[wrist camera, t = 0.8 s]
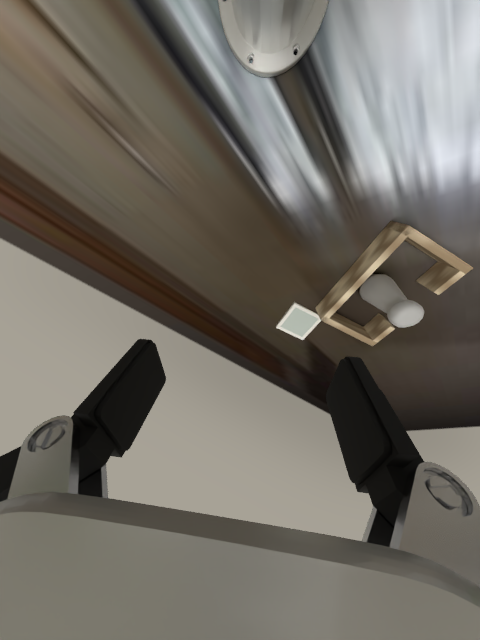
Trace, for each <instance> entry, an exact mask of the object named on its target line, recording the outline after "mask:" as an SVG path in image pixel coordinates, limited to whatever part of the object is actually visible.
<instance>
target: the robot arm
mask: <svg viewBox="0 0 480 640" xmlns="http://www.w3.org/2000/svg"><path fill="white" fill-rule="evenodd" d="M328 2H329V0H227V1H226V2H224V0H218V4H219V10H220V16H221V21H222V25H223V29H224V33H225V35H226V38H227V41H228V44H229V46H230V48H231V50H232V52H233V54H234V56H235V57H236V59H237V60H238V61H239V62H240V64H241V65H242V66H243V67H244V68H246V69H247V70H248V71H249V72H251V73H253V74H255V75H257V76H261V77H273V76H278V75H280V74H282V73H284V72H286V71H288V70H289V69H290V68H292V67H293V66H294V65H295V64H296V63H297V62H298V61H299V60H300V59H301V58H302V57H303V56H304V55H305V53H306V52H307V50H308V49H309V47H310V46H311V44H312V43H313V41H314V39H315V37H316V34H317V32H318V30H319V28H320V26H321V23H322V20H323V18H324V15H325V12H326V9H327V6H328ZM294 51H297V55H294V54H293V52H294ZM251 59H252V60H253V63H251V64H250V63H249V61H250V60H251ZM165 381H166V376H165V373H164V370H163V367H162V363H161V360H160V357H159V354H158V351H157V347H156V345H155V343H153V342H152V340H146V339H139V340H137V341H136V343H135V344H134V345H133V346H132V347H131V348H130V349H129V350H128V352H127V353H126V354H125V355H124V356H123V357H122V358H121V359H120V361H119V362H118V363H117V364H116V365H115V366H114V368H113V369H112V370H111V371H110V372H109V373H108V374H107V375H106V376H105V378H104V379H103V380H102V381H101V382H100V383H99V384H98V385H97V387H96V388H95V389H94V390H93V391H92V392H91V393H90V395H89V396H88V397H87V398H86V399H85V400H84V401H83V402H82V403H81V405H80V406H79V407H78V408H77V409H76V410H75V411H74V415H73V416H72V417H71V418H70V417H69V416H57V417H54V418H51V419H49V420H47V421H45V422H43V423H42V424H41V425H39V426H37V427H36V428H35V429H34V430H33V431H32V432H31V433H30V434H29V435H28V436H27V438H26V439H25V440H24V442H23V444H22V446H21V447H19V448H17V449H15V450H13V451H11V452H9V453H7V454H5V455H3V456H0V640H480V506H479V504H478V502H477V500H476V499H475V496H474V495H473V493H472V492H471V491H470V490H469V488H468V487H467V486H466V485H465V484H464V483H463V482H462V481H461V480H460V479H459V478H458V477H457V476H456V475H454V474H453V473H452V472H450V471H449V470H447V469H446V468H444V467H442V466H440V465H438V464H435V463H432V462H424V461H423V459H422V458H421V456H420V455H419V452H418V451H417V449H416V448H415V446H414V444H413V442H412V441H411V439H410V437H409V436H408V434H407V432H406V431H405V429H404V427H403V425H402V424H401V422H400V420H399V419H398V417H397V415H396V414H395V412H394V410H393V409H392V407H391V405H390V404H389V402H388V400H387V399H386V397H385V395H384V394H383V392H382V391H381V390H380V389H379V388H378V386H377V384H376V383H375V381H374V379H373V378H372V376H371V374H370V373H369V371H368V369H367V367H366V366H365V364H364V362H363V361H362V359H361V358H358V357H345V358H344V359H342V360H341V361H340V363H339V365H338V368H337V370H336V372H335V375H334V377H333V379H332V381H331V384H330V386H329V388H328V391H327V393H326V400H327V404H328V407H329V411H330V414H331V417H332V421H333V424H334V427H335V431H336V434H337V438H338V441H339V444H340V448H341V451H342V454H343V458H344V461H345V465H346V468H347V471H348V475H349V477H350V480H351V481H352V482H353V483H355V485H356V489H357V491H358V492H363V493H369V495H370V498H371V501H372V504H373V509H372V512H371V515H370V518H369V521H368V524H367V527H366V530H365V533H364V536H363V539H362V541H356V540H351V539H346V538H341V537H336V536H331V535H325V534H318V533H313V532H307V531H301V530H296V529H290V528H283V527H278V526H272V525H267V524H260V523H255V522H248V521H243V520H236V519H230V518H225V517H219V516H213V515H207V514H200V513H195V512H189V511H183V510H177V509H171V508H165V507H158V506H152V505H146V504H140V503H134V502H128V501H121V500H115V499H108V489H107V472H106V462H107V461H108V459H109V457H110V456H116V457H122V456H123V454H124V452H125V451H126V450H128V449H129V448H130V447H131V445H132V443H133V441H134V439H135V438H136V436H137V434H138V432H139V430H140V428H141V426H142V425H143V423H144V421H145V419H146V417H147V415H148V413H149V412H150V410H151V408H152V406H153V404H154V402H155V400H156V399H157V397H158V395H159V393H160V391H161V389H162V387H163V386H164V384H165Z"/></svg>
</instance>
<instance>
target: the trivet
mask: <svg viewBox="0 0 480 640" xmlns="http://www.w3.org/2000/svg"><path fill="white" fill-rule="evenodd" d="M320 321H321V320H320V318H319V315H318V314H317V313H315V312H313V311H311V310H309V309H307V308H306V307H304V306H302V305H300V304H298V303H296V302H294V303H293V304H292V306H291V307H290V308H289V310H288V311H287V312H286V313H285V315H284V316H283V317H282V319H281V320H280V321H279V323H278V324H277V325H276V328H278V329H280V330H282V331H284V332H287V333H289V334H291V335H293V336H295V337H297V338H299V339H301V340H303V339H304V338H305V337H306V336H307V335H308V334H309V333H310V332H311V331H312V330H313V329H314V328H315V327H316V325H317V324H318V323H319V322H320Z"/></svg>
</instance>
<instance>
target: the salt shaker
mask: <svg viewBox="0 0 480 640" xmlns="http://www.w3.org/2000/svg"><path fill="white" fill-rule="evenodd" d="M359 293H360V295H361V297H362V299H364V300H365V301H367V302H369V303H370V304H372V305H374V306H375V307H377V308H379V309H380V310H382V311H384V312H385V313H387V317H388V319H389V321H390V322H391V323H392V324H394V325H395V326H397V327H404V328H405V327H409V326H413V325H415V324H417V323H418V322H419V321H420V320H421V319H422V318H423V315H424V310H423V308H422V306H421V305H419V304H418V303H416V302H414V301H411V300H408V299H407V298H406V297H405V295H404V294H403V293H402V291H401V290H400V289H399V287H398V286H397V285H396V283H395V282H394V281H393V279H392V278H390V277H389V276H387V275H385V274H372V275H370V276H369V277H368V278H367V279H366V281H365V282H364V283H363V284H362V285H361V286H360V290H359Z"/></svg>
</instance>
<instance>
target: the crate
mask: <svg viewBox="0 0 480 640" xmlns="http://www.w3.org/2000/svg"><path fill="white" fill-rule="evenodd" d="M404 240H405V241H407V242H408V243H410V244H411V245H413V246H414V247H416V248H417V249H419V250H421V251H422V252H424V253H425V254H427V255H428V256H430V257H432V258H433V259H435V260H436V261H438V262H437V263H435V264H434V265H433V266H432V267H431V268H430V269H429V270H427V271H426V272H425V273H424V274H423V275H422V276H421V277H419V278H418V279H417V280H416V282H418V283H420V284H421V285H423V286H425V287H426V288H428V289H429V290H431V291H433V292H434V293H436V294H438V295H439V294H441V293H442V292H443V291H444V290H446V289H447V288H448V287H450V286H451V285H452V284H453V283H455V282H456V281H457V280H459V279H460V278H461V277H462V276H464V275H465V274H466V273H468V272H469V271H470V270H472V269H473V267H471V266H470V265H468V264H467V263H465V262H464V261H462V260H461V259H459V258H458V257H456V256H455V255H453V254H452V253H450V252H449V251H447V250H446V249H444V248H443V247H441V246H440V245H438V244H437V243H435V242H434V241H432V240H431V239H429V238H427V237H426V236H424V235H423V234H421V233H420V232H418V231H417V230H415V229H414V228H412V227H411V226H409V225H406V224H402V223H398V222H394V221H390V222H389V224H388V225H387V226H386V227H385V228H384V229H383V231H382V232H381V233H380V234H379V235H378V236H377V237H376V239H375V240H374V241H373V242H372V243H371V244H370V245H369V247H368V248H367V249H366V250H365V251H364V252H363V254H362V255H361V256H360V257H359V258H358V259H357V260H356V262H355V263H354V264H353V265H352V266H351V267H350V268H349V270H348V271H347V272H346V273H345V274H344V275H343V277H342V278H341V279H340V280H339V281H338V282H337V283H336V285H335V286H334V287H333V288H332V289H331V290H330V292H329V293H328V294H327V295H326V296H325V297H324V298H323V300H322V301H321V302H320V303H319V304H318V305H317V306H316V311H317V313H318V315H319V318H320V320H321V321H323V322H325V323H327V324H329V325H331V326H333V327H335V328H337V329H339V330H341V331H343V332H345V333H347V334H349V335H351V336H353V337H355V338H357V339H359V340H361V341H363V342H365V343H367V344H369V345H371V346H374V345H375V344H376V343H377V342H379V341H380V340H381V339H383V338H384V337H385V336H386V335H388V334H389V333H390V332H392V331H393V330H394V329H395V328H394V327H393V326H392V325H391V324H390V323H389V322H388V321H387V320H386V319H385V317H384V316H383V315H381V314H379V313H378V314H377V315H376V316H375V317H374V318H373V319H371V320H370V321H369V322H368V323H367V324H366V325H365V326H361V325H359V324H357V323H355V322H353V321H351V320H349V319H347V318H345V317H343V316H341V315H339V314H337V313H335V312H336V311H337V310H338V309H339V308H340V306H341V305H342V304H343V303H344V302H345V301H346V300H347V299H348V298H349V297H350V296H351V295H352V294H353V293H354V292H355V291H356V290H357V289H358V288H359V287H360V286H361V285H362V284H363V283H364V282H365V281H366V279H367V278H368V277H369V276H370V275H371V274H372V273H373V272H374V271H375V270H376V269H377V268H378V267H379V266H380V265H381V264H382V263H383V262H384V261H385V260H386V259H387V258H388V257H389V256H390V255H391V254H392V252H393V251H394V250H395V249H396V248H397V247H398V246H399V245H400V244H401V243H402V242H403V241H404Z"/></svg>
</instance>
